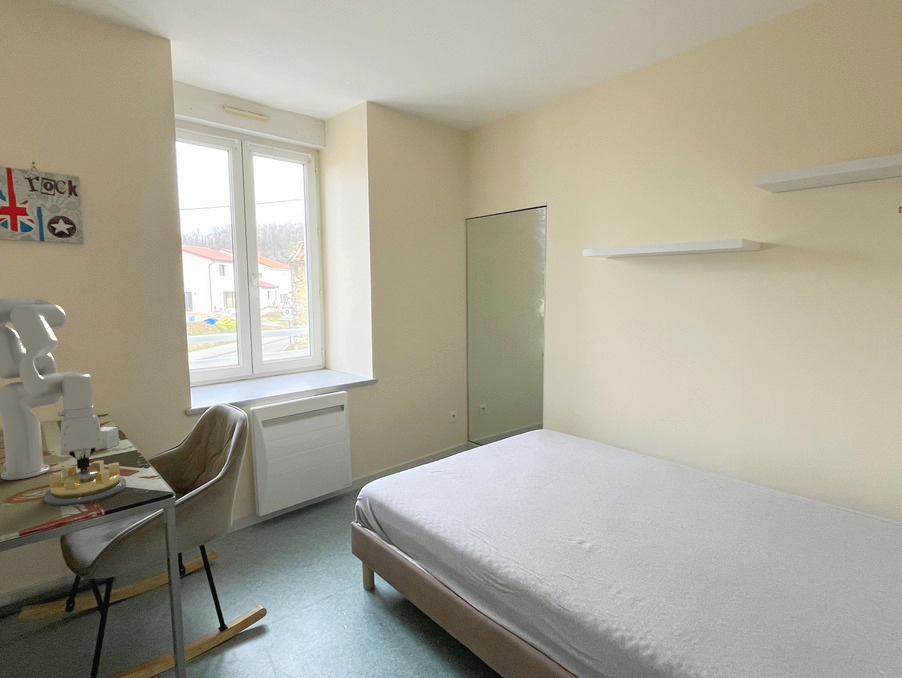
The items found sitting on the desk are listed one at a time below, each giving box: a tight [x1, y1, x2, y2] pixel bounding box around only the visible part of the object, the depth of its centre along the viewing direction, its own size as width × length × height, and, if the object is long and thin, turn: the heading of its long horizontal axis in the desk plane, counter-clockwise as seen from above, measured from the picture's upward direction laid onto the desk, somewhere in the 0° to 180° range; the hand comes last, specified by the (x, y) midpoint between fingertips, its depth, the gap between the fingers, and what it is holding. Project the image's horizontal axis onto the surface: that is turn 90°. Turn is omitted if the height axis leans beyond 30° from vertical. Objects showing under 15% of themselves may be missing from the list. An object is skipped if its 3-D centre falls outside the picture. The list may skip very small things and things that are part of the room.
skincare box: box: [100, 426, 120, 449], centre depth 197 cm, size 6×6×7 cm
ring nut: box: [48, 459, 121, 498], centre depth 150 cm, size 17×17×6 cm
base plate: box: [44, 476, 127, 507], centre depth 150 cm, size 20×20×2 cm
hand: (83, 469), depth 155 cm, fingers closed
